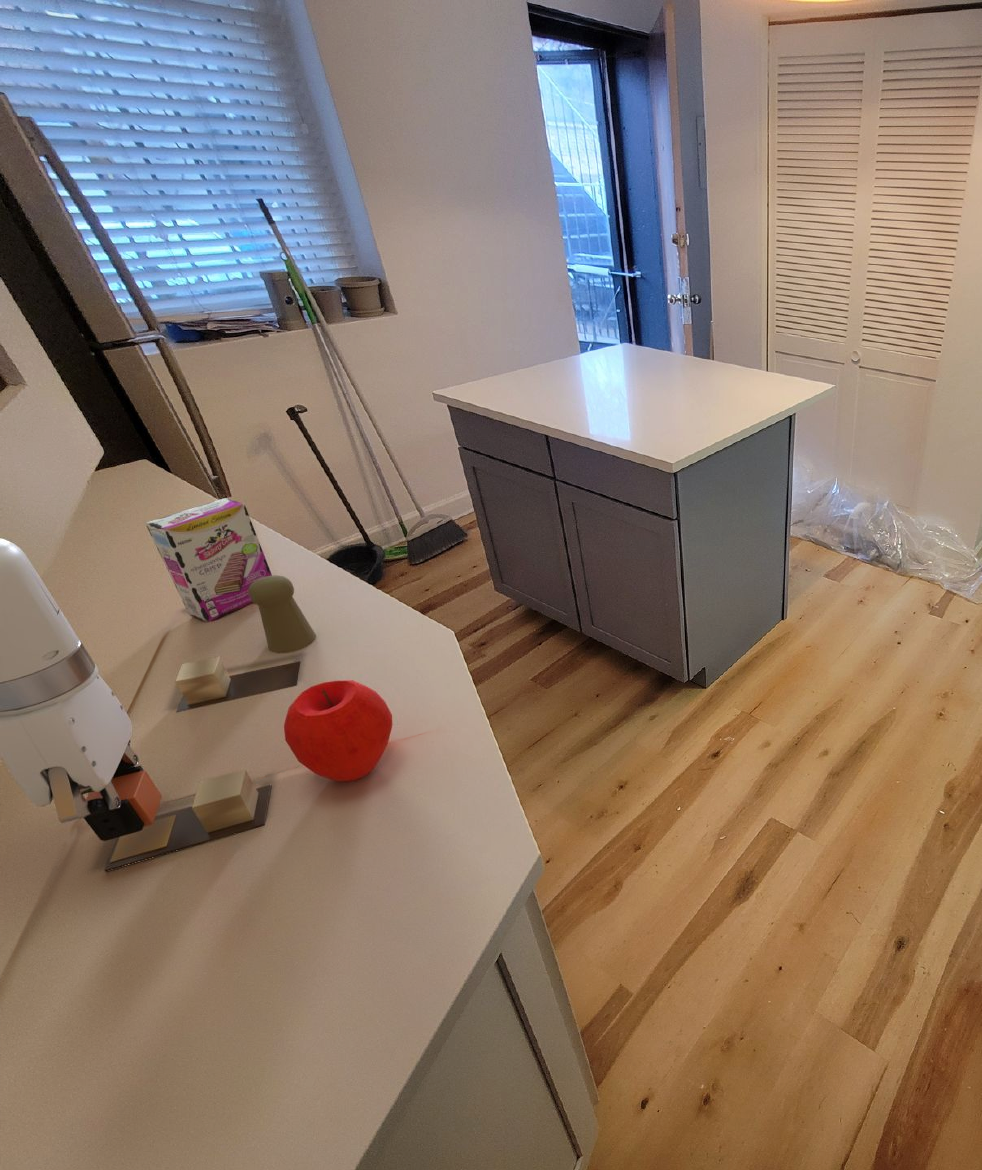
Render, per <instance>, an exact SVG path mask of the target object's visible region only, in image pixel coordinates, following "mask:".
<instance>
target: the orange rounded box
mask: <svg viewBox="0 0 982 1170" xmlns="http://www.w3.org/2000/svg"><path fill="white" fill-rule="evenodd" d="M111 782H112V784H113V786H114V788H115V790H116V792H117V794H118V796H119V798H120V800H124V799H127V800H128V801H129V803H130V804H131V806H132V807H133V808H134V810H135V811H136V813H137V814H138V816H139V817H140V818H141V820H142V821H143V823H144V827H145V826H148V825H152V824H153V821H154V819H155V816H157V813H158V811H159V807H160V804H161V802H162V799H163V795H162V794H161V791H160V790H159V789H158V788H157V786H156V784H155V783H154V781H153V780H152V778H151V776H150V775H149V773H148V772H147V771H146V770H145V769H143V771H139V772H136V773H132V774H128V775H124V776H120V777H116V778H112V779H111ZM96 798H103V797H102V795H101V793H100V792H95V791H94V792H90V793H87V796H86V798H85V799H86V801H88V800H92V799H96Z"/></svg>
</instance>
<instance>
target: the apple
mask: <svg viewBox="0 0 982 1170" xmlns="http://www.w3.org/2000/svg"><path fill="white" fill-rule="evenodd" d="M392 729H393V714H392V712H391V710H390V708H389V707H388V704H387V703H386V701H385V700H384V699H383V698H382V696H381V695H380V694H379V693H378V692H377V691H376V690H374V689H372V688H371V687H369V686H367V685H364V684H362V683H360V682H358V681H356V680H353V679H351V680H350V679H347V680H332V681H325V682H320V683H317V684H315V685H312V686H310V687H308V688H307V689H305V690H303V691H302V692H301V693H300V694H298V696H296V698H295V699H294V700H293V702H291V704H290V706H289V707H288V709H287V713H286V716H285V720H284V724H283V732H284V740H285V743H286V744H287V745H288V747H289V749H290V750H291V752H292V754H293V755H294V757H295V758H296V760H297V761H298V762H299V764H301V765H302V766H304V767H305V768H307V769H308V770H309V771H310V772H312V773H314V774H315V775H317V776H320V777H322V778H325V779H328V780H332V781H338V782H351V781H355V780H360V779H361V778H363V777H365V776H367V775H368V774H369V773H370V772H371V771H372V770H373V769H374V768H375V767H376V766H377V765H378V764H379V762H380V761H381V758H382V756H383V754H384V752H385V750H386V748H387V746H388V744H389V741H390V737H391V734H392Z"/></svg>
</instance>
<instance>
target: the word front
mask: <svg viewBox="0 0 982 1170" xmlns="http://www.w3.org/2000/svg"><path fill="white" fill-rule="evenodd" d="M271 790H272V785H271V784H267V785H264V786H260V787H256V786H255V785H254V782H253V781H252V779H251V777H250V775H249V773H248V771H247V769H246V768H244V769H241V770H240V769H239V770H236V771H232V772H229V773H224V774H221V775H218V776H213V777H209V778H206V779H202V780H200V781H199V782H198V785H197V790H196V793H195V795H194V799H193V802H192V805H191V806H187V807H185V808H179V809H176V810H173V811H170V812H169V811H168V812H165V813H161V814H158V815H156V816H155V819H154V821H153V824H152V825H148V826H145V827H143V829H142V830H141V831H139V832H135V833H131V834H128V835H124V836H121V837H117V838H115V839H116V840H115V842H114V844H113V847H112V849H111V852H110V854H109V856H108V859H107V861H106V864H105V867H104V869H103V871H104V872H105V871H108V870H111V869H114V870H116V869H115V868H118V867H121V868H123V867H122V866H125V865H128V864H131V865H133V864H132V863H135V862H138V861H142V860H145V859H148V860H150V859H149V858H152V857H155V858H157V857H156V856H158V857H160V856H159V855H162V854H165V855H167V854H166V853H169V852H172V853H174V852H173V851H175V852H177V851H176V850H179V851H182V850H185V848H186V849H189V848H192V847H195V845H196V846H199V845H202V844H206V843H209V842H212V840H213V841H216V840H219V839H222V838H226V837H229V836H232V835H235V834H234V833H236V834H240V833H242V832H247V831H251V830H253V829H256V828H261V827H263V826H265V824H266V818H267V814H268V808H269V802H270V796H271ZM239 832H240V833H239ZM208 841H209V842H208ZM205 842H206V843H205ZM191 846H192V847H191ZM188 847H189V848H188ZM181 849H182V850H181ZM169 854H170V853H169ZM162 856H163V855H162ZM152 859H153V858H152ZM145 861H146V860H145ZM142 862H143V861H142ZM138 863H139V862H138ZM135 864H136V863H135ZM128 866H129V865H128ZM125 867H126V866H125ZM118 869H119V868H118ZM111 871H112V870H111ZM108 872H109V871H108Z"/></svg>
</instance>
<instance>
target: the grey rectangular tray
mask: <svg viewBox="0 0 982 1170" xmlns="http://www.w3.org/2000/svg"><path fill="white" fill-rule="evenodd" d="M222 661H223V660H222V659H221V657H220V656H217V657H216V656H215V657H211V658H206V659H200V660H196V661H191V662H186V663H182V664H181V665H180V667H179V671H178V673H177V674H176V675H177V676H176V678H175V681H174V682H175V685H176V686H177V688H178V690H179V691H180V694H181V695H182V697H181V699H180V702H179V704H178V707H177V709H176V713H180V712H185V711H189V710H193V709H199V708H203V707H207V706H212V705H216V704H220V703H224V702H230V701H233V700H238V699H243V698H247V697H253V696H257V695H261V694H265V693H271V692H274V691H279V690H283V689H288V688H293V687H296V686H298V682H299V676H300V671H301V670H300V669H301V663H302V661H301V660H299V661H295V662H289V663H285V664H281V665H275V666H271V667H265V668H260V669H255V670H251V671H247V672H242V673H238V674H237V673H236V674H233V675H229V672H228V671H227V669H226V666H225V665H224V663H223V662H222Z"/></svg>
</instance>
